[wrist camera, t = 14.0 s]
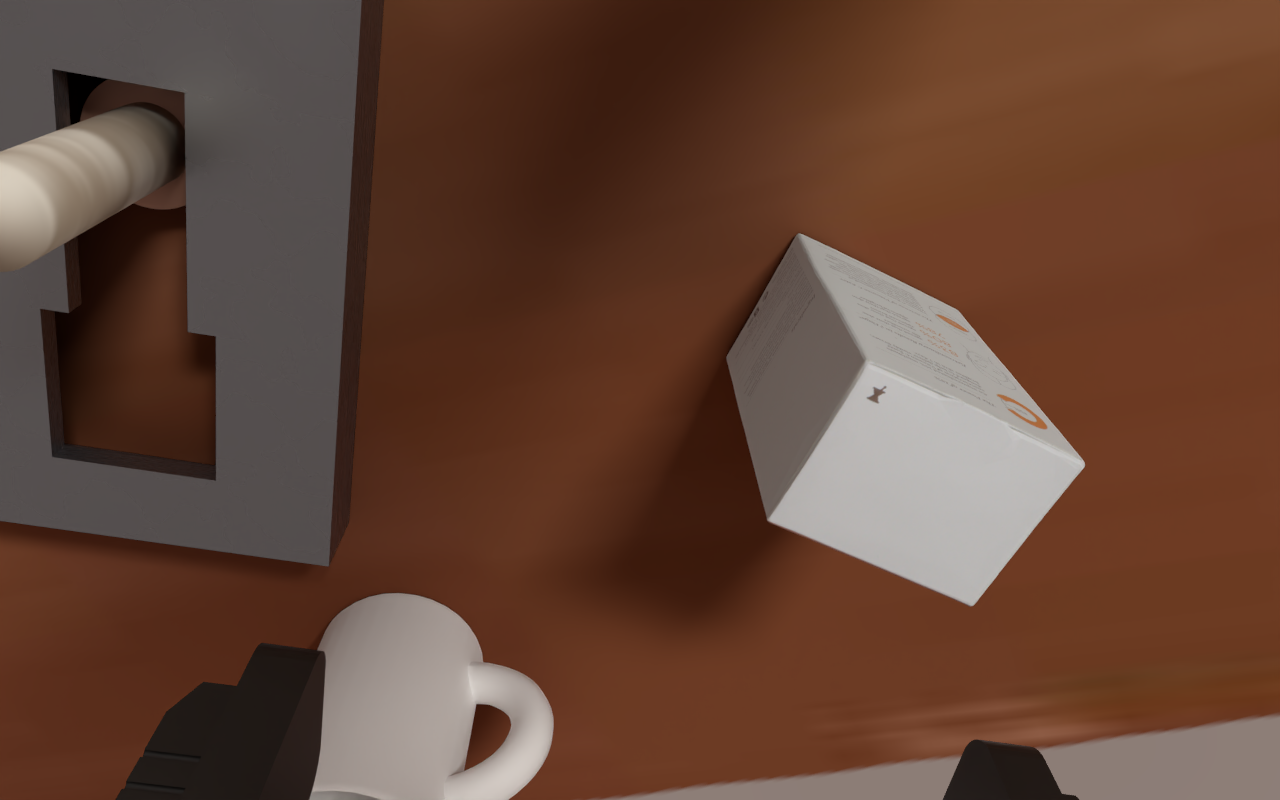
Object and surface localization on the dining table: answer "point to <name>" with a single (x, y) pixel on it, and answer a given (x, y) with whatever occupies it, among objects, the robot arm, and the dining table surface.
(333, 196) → the keyhole plate
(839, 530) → the small box
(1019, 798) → the robot arm
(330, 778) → the mug
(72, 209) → the stud
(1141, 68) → the dining table surface
